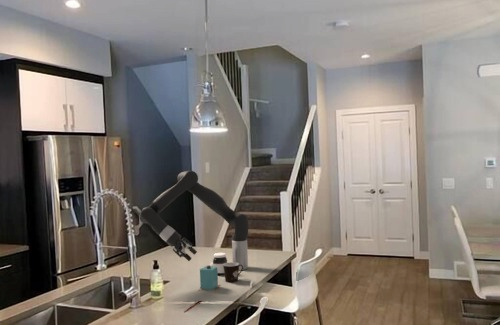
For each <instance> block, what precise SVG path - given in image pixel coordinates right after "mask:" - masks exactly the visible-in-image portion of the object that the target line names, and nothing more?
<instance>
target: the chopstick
mask: <svg viewBox="0 0 500 325" xmlns="http://www.w3.org/2000/svg"><path fill="white" fill-rule="evenodd" d="M202 302H203V300H198V301H196V302H195V303H194V304H192V305H190V306H189V307H188V308H186V310H184V311H183V313H186V312H189V310H192V308H194V307H196V306H198V305H199V304H201V303H202Z"/></svg>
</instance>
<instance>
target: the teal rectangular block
mask: <svg viewBox="0 0 500 325" xmlns="http://www.w3.org/2000/svg"><path fill="white" fill-rule="evenodd" d="M199 280H200V287H201V289H203V290H214V289H215V288H216V287H218V285H219V275H218V272H217V267H211V266H210V264H209V265H206V266H203V267H202V268H200V269H199Z"/></svg>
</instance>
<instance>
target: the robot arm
mask: <svg viewBox="0 0 500 325" xmlns="http://www.w3.org/2000/svg"><path fill="white" fill-rule="evenodd" d="M176 179H177V183H176V184H174V185H173V186H172V187H170V188H168V189H166V190H165V191H164V192H162V193H161V194H160V195H158V196H157V197H156V198H155V199H154V200H152V202H151V204H150V205H149V206H146V207H143V208H142V209H141V211H140V214H139V221H140V222H142V223H143V224H149V225H150V226H151V228H152V229H151V230H153V231H154V232H155V233H156V234H157V235H158V236H159V237H160V238H161V239H162V240H163V241H164V242H165V243H166V244H168V246H170V247H171V248H172V251H173V252H174V253H175V254H176V255H177V256H178V257H179V258H182V257H184V258H185V259H186V260H187V261H188V262H189V261H191V260H192V256H191V255H190V254H188V253H187V252H186V250H188V251H189V252H190V253H192V254H193V255H195V254H197V253H198V251H197V250H196V249H195V248H194V247H193V243H192V242H190V240H188V238H186V237H183V238H182V235H181V234H179V233H178V232H177V231H176V229H174V228H173V227H172V226H170V225H169V224H168V223H166V222H165V221H164V220H163V218H161V216H160V215H159V214H160V213H161V212H162V211H163V210H165V209H166V208H167V207H168V206H169V205H170V204H171V203H173V202H174V201H175V200H176V199H177V198H178V197H180V196H181V195H182V194H183V193H185V192H186V191H188V192H190V193H191V195H194V196H195V197H196V198H197V199H198V200H200V202H202V203H203V204H204V205H205V206H207V207H208V209H210V210H212V211H213V212H215V213H216V214H217V215H218V216H220V217H221V218H222V219H224V220H225V222H227V223H228V225H229V226H231V227H232V228H234V234H233V235H232V236H231V250H232V262H234V263H239V265H242V266H243V270H242V271H245V270H247V269H249V260H248V259H249V254H248V253H249V252H248V236H249V218H248V217H247V215H246V214H244V213H240V212H236V211H235V210H233V209H232V208H231V207H230V206H229V205H228V204H227V203H226V201H225V199H224V198H223V197H222V196H220V195H219V194H218V193H217V192H216V191H214V190H213V189H211V188H208V187H206V186H204V185H202V184H201V183H199V182H198V181H199V175H198V173H197V172H196V171H194V170H185V171H182V172H180V173H179V174H178V175H177V178H176ZM242 266H239V271H241V269H242Z"/></svg>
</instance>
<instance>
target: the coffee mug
mask: <svg viewBox="0 0 500 325" xmlns="http://www.w3.org/2000/svg"><path fill="white" fill-rule="evenodd" d="M239 266H242V265H239V263H234V262H233V261H232V262H227V263H225V264H223V268H224V274H225V275H224V280H225V283H229V284H230V283H231V284H232V283H237V282H238V281H239V275H241V273H242V272H243V271H244V270H243V266H242V269H241V270H239Z"/></svg>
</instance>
